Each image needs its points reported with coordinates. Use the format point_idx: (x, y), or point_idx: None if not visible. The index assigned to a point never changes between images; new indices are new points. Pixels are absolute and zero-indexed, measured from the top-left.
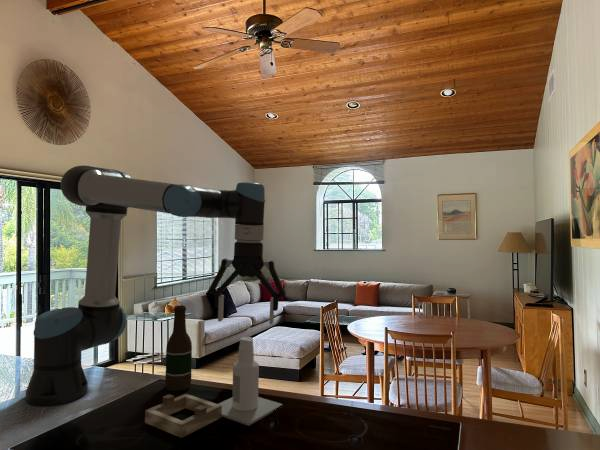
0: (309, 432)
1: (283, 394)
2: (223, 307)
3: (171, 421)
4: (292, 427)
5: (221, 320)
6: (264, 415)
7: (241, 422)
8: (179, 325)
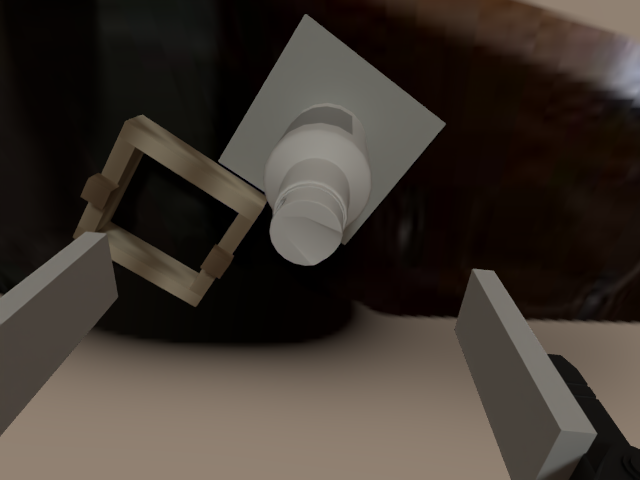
0: None
1: (461, 9)
2: (50, 284)
3: (165, 289)
4: (454, 250)
5: (113, 277)
6: (385, 195)
7: None
8: None
